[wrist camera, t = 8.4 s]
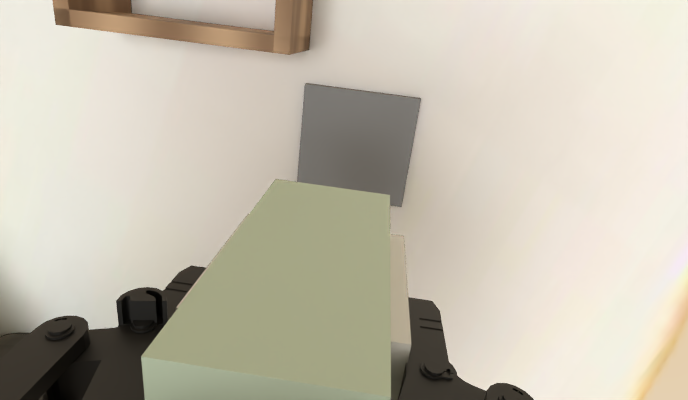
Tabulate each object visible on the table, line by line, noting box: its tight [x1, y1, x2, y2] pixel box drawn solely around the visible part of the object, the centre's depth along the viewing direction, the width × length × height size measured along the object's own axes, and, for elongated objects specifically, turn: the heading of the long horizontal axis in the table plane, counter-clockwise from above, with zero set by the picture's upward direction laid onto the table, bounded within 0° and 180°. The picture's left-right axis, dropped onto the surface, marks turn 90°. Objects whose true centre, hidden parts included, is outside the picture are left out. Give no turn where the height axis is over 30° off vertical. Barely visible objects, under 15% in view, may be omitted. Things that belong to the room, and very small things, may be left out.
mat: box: [297, 83, 421, 207], centre depth 35 cm, size 9×9×1 cm
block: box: [141, 179, 391, 400], centre depth 14 cm, size 5×5×11 cm
